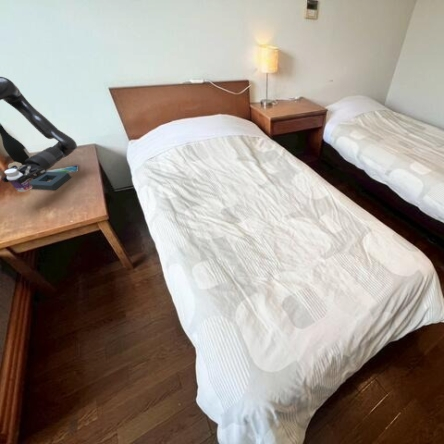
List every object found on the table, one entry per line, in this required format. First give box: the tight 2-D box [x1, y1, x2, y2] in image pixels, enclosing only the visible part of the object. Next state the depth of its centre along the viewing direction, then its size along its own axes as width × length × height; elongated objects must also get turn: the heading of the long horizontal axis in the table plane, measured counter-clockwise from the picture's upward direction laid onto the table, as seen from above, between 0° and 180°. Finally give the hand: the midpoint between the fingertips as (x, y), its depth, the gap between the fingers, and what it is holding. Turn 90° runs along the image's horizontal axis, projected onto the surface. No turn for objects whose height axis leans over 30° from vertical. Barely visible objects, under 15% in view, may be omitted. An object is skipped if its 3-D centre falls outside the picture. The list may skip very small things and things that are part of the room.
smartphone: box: [46, 165, 79, 173], centre depth 145 cm, size 7×1×15 cm
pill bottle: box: [3, 168, 33, 193], centre depth 110 cm, size 5×5×10 cm
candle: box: [7, 161, 31, 181], centre depth 133 cm, size 6×6×10 cm
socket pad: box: [29, 170, 72, 191], centre depth 135 cm, size 13×13×3 cm
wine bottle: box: [0, 122, 33, 165], centre depth 135 cm, size 8×8×30 cm
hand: (11, 181), depth 108 cm, fingers closed on pill bottle, 5 cm apart
